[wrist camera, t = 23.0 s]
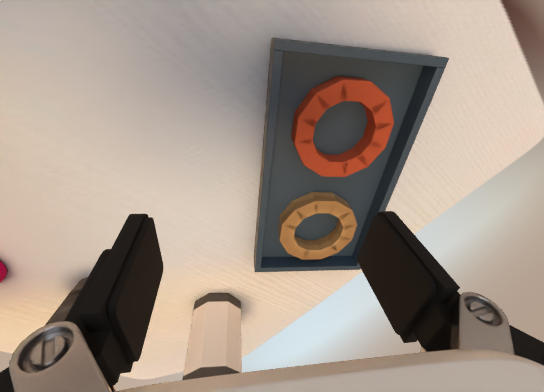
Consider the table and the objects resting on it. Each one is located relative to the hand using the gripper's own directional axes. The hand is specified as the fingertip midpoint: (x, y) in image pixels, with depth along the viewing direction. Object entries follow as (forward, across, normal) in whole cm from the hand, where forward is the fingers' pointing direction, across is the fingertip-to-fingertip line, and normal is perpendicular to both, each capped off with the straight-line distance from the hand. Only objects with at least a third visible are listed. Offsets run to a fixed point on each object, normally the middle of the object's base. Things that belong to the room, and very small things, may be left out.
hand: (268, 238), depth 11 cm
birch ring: (+17, -10, +14) cm, 24 cm away
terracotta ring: (+17, -10, +1) cm, 20 cm away
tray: (+18, -10, +7) cm, 21 cm away
